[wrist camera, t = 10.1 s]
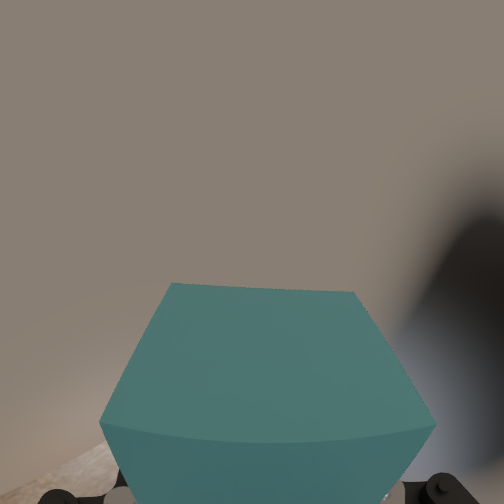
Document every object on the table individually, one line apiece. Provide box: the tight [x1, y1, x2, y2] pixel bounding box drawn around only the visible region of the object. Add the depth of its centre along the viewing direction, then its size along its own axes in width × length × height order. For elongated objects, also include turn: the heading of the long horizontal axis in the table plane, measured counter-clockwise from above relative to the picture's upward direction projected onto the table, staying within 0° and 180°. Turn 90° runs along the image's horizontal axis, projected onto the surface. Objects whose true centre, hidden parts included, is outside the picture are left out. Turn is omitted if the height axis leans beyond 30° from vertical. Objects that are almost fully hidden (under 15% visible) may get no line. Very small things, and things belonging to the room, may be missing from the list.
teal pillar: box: [99, 283, 436, 504], centre depth 8 cm, size 5×5×12 cm
